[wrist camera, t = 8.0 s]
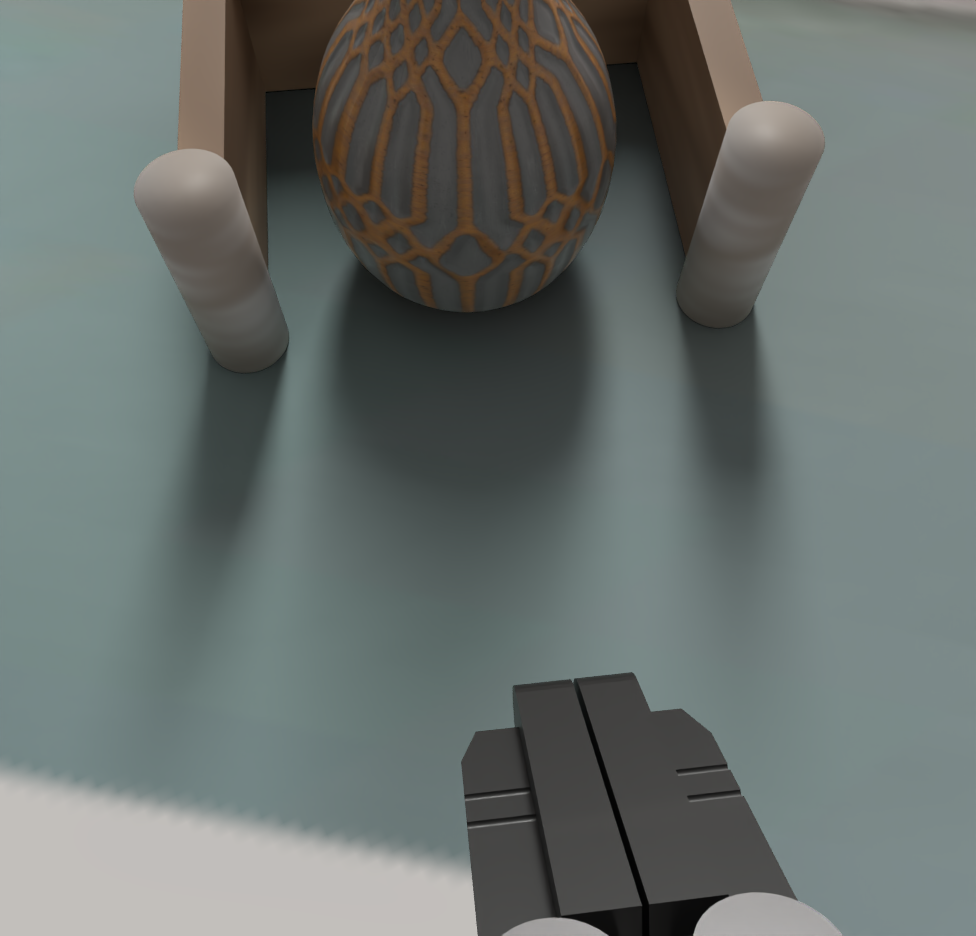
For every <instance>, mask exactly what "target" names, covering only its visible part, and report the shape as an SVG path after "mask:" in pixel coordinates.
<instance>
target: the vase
mask: <svg viewBox="0 0 976 936" xmlns="http://www.w3.org/2000/svg"><path fill="white" fill-rule="evenodd" d="M312 127H313V149H314V156H315V162H316V167H317V172H318V176H319V180H320V184H321V187H322V191H323V194H324V197H325V200H326V203H327V206H328V208H329V211H330V214H331V216H332V219H333V221H334V223H335V225H336V227H337V228H338V230H339V232H340V233H341V235H342V237H343V239H344V240H345V242H346V244H347V245H348V247H349V248H350V249H351V251H352V252H353V253H354V255H355V256H356V257H357V258H358V259H359V261H360V262H361V263H362V264H363V265H364V267H365V268H366V269H367V270H368V271H369V272H370V273H371V274H373V275H374V276H375V277H376V278H377V279H378V280H380V281H381V282H382V283H383V284H384V285H386V286H387V287H388V288H390V289H391V290H392V291H394V292H396V293H397V294H399V295H401V296H403V297H405V298H407V299H409V300H411V301H413V302H416V303H418V304H421V305H424V306H428V307H431V308H435V309H441V310H446V311H454V312H479V311H487V310H492V309H497V308H501V307H505V306H508V305H511V304H514V303H517V302H519V301H522V300H524V299H526V298H528V297H530V296H532V295H534V294H536V293H537V292H539V291H540V290H542V289H543V288H545V287H546V286H547V285H549V284H550V283H551V282H552V281H553V280H554V279H555V278H557V277H558V276H559V275H560V274H561V273H562V272H563V271H564V270H565V269H566V268H567V267H568V266H569V265H570V263H571V262H572V261H573V260H574V259H575V257H576V256H577V254H578V253H579V252H580V250H581V249H582V247H583V246H584V245H585V243H586V242H587V240H588V238H589V236H590V234H591V232H592V231H593V229H594V227H595V225H596V223H597V221H598V219H599V216H600V214H601V212H602V208H603V205H604V202H605V199H606V196H607V192H608V189H609V185H610V180H611V175H612V171H613V166H614V158H615V150H616V113H615V105H614V97H613V92H612V87H611V82H610V77H609V73H608V70H607V66H606V63H605V60H604V57H603V54H602V51H601V49H600V46H599V44H598V42H597V39H596V37H595V35H594V33H593V31H592V30H591V28H590V26H589V24H588V23H587V21H586V19H585V18H584V16H583V15H582V13H581V12H580V11H579V9H578V8H577V7H576V6H575V4H574V3H573V2H572V1H571V0H354V1H353V3H352V4H351V5H350V7H349V8H348V10H347V11H346V12H345V14H344V15H343V17H342V18H341V20H340V21H339V23H338V25H337V27H336V29H335V31H334V32H333V34H332V36H331V38H330V40H329V43H328V45H327V48H326V51H325V54H324V56H323V59H322V63H321V66H320V71H319V75H318V79H317V85H316V91H315V98H314V108H313V122H312Z"/></svg>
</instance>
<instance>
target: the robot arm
mask: <svg viewBox="0 0 976 936" xmlns="http://www.w3.org/2000/svg"><path fill="white" fill-rule="evenodd" d="M513 708H514V723H515V728H506V729H497V730H488V731H479V732H476V733H475V735H474V737H473V739H472V741H471V743H470V745H469V747H468V749H467V751H466V753H465V755H464V757H463V759H462V761H461V764H462V774H463V785H464V796H465V806H466V817H467V828H468V838H469V849H470V860H471V870H472V880H473V891H474V901H475V911H476V921H477V932H478V936H843V935H842V934H841V932H840V931H839V930H838V929H837V928H836V927H835V926H834V925H833V924H832V923H831V922H830V921H829V920H828V919H827V918H826V917H824V916H823V915H822V914H820V913H819V912H818V911H816V910H814V909H813V908H811V907H809V906H807V905H806V904H804V903H801V902H799V901H798V900H797V898H796V897H795V895H794V893H793V891H792V889H791V887H790V885H789V883H788V881H787V879H786V877H785V876H784V874H783V872H782V870H781V868H780V866H779V864H778V862H777V860H776V858H775V856H774V854H773V852H772V850H771V848H770V846H769V844H768V842H767V840H766V838H765V837H764V835H763V833H762V831H761V829H760V827H759V825H758V823H757V821H756V819H755V817H754V815H753V813H752V811H751V809H750V807H749V805H748V803H747V801H746V799H745V798H744V796H741V792H740V788H739V786H738V784H737V782H736V780H735V778H734V776H733V774H732V772H731V770H728V767H727V762H726V760H725V759H724V757H723V755H722V753H721V751H720V749H719V747H718V745H717V743H716V741H715V739H714V737H713V735H712V733H711V732H710V731H708V730H707V729H706V728H705V727H703V726H702V725H701V724H700V723H698V722H697V721H696V720H695V719H693V718H692V717H691V716H690V715H689V714H687V713H686V712H685V711H684V710H682V709H673V710H664V711H655V712H651V711H650V709H649V706H648V704H647V702H646V699H645V697H644V695H643V692H642V690H641V688H640V685H639V683H638V681H637V679H636V676H635V675H634V673H632V672H630V673H621V674H612V675H603V676H594V677H585V678H576V679H574V682H573V683H572V681H571V679H569V680H559V681H550V682H541V683H532V684H523V685H514V686H513Z"/></svg>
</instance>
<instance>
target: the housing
mask: <svg viewBox="0 0 976 936" xmlns="http://www.w3.org/2000/svg"><path fill="white" fill-rule="evenodd" d="M353 1H354V0H183V18H182V45H181V71H180V98H179V125H178V150H176V151H172V152H169V153H167V154H164V155H162V156H160V157H158V158H157V159H155V160H154V161H152V162H151V163H150V164H148V165H147V166H146V167H145V168H144V169H143V171H142V172H141V173H140V175H139V176H138V178H137V180H136V183H135V187H134V199H135V203H136V205H137V207H138V209H139V211H140V213H141V215H142V217H143V219H144V221H145V223H146V225H147V227H148V229H149V231H150V233H151V235H152V237H153V239H154V241H155V243H156V245H157V247H158V249H159V251H160V253H161V255H162V257H163V259H164V261H165V263H166V265H167V267H168V269H169V271H170V273H171V275H172V277H173V279H174V281H175V283H176V285H177V287H178V289H179V290H180V292H181V294H182V296H183V298H184V300H185V302H186V304H187V306H188V308H189V310H190V312H191V314H192V316H193V318H194V320H195V322H196V324H197V326H198V328H199V330H200V332H201V334H202V336H203V338H204V340H205V342H206V344H207V346H208V348H209V350H210V352H211V354H212V356H213V357H214V359H215V360H216V361H217V362H218V363H219V364H220V365H221V366H222V367H224V368H226V369H228V370H230V371H234V372H238V373H251V372H257V371H260V370H263V369H265V368H267V367H269V366H271V365H272V364H274V363H275V362H276V361H277V360H278V359H279V358H280V357H281V356H282V355H283V353H284V352H285V350H286V348H287V345H288V341H289V331H288V327H287V324H286V321H285V318H284V315H283V313H282V310H281V307H280V304H279V301H278V298H277V295H276V292H275V290H274V287H273V284H272V281H271V278H270V275H269V272H268V231H267V167H266V103H265V92H268V91H281V90H293V89H306V88H316V85H317V79H318V75H319V71H320V66H321V63H322V59H323V56H324V54H325V51H326V48H327V45H328V43H329V40H330V38H331V36H332V34H333V32H334V31H335V29H336V27H337V25H338V23H339V21H340V20H341V18H342V17H343V15H344V14H345V12H346V11H347V10H348V8H349V7H350V5H351V4H352V3H353ZM571 1H572V2H573V3H574V4H575V6H576V7H577V8H578V9H579V11H580V12H581V13H582V15H583V16H584V18H585V19H586V21H587V23H588V24H589V26H590V28H591V30H592V31H593V33H594V35H595V37H596V39H597V42H598V44H599V46H600V49H601V51H602V54H603V57H604V60H605V63H606V65H607V64H619V63H632V62H637V65H638V69H639V73H640V77H641V81H642V85H643V89H644V93H645V97H646V101H647V105H648V109H649V113H650V117H651V121H652V125H653V129H654V133H655V137H656V140H657V144H658V148H659V152H660V156H661V160H662V164H663V168H664V172H665V176H666V180H667V184H668V188H669V192H670V196H671V200H672V204H673V208H674V212H675V216H676V220H677V224H678V228H679V232H680V236H681V240H682V244H683V248H684V252H685V256H686V259H685V263H684V266H683V269H682V272H681V275H680V278H679V282H678V285H677V289H676V296H677V301H678V304H679V306H680V308H681V309H682V311H683V312H684V313H685V314H686V315H687V316H688V317H689V318H691V319H692V320H693V321H695V322H697V323H699V324H701V325H704V326H707V327H713V328H725V327H730V326H733V325H736V324H738V323H740V322H741V321H743V320H744V319H745V318H746V317H747V316H748V315H749V313H750V312H751V309H752V307H753V305H754V303H755V301H756V299H757V296H758V294H759V292H760V290H761V288H762V285H763V283H764V281H765V279H766V277H767V274H768V272H769V270H770V268H771V266H772V263H773V261H774V259H775V257H776V255H777V253H778V250H779V248H780V246H781V244H782V242H783V239H784V237H785V235H786V233H787V231H788V228H789V226H790V224H791V222H792V220H793V217H794V215H795V213H796V211H797V209H798V207H799V204H800V202H801V200H802V198H803V196H804V193H805V191H806V189H807V187H808V185H809V182H810V180H811V178H812V176H813V174H814V171H815V169H816V167H817V165H818V163H819V161H820V158H821V156H822V154H823V152H824V148H825V137H824V134H823V131H822V129H821V127H820V125H819V124H818V123H817V121H816V120H815V119H814V118H813V117H812V116H811V115H809V114H808V113H807V112H805V111H804V110H802V109H800V108H798V107H796V106H793V105H791V104H787V103H783V102H777V101H763V100H762V97H761V94H760V91H759V87H758V84H757V81H756V78H755V75H754V72H753V69H752V66H751V63H750V60H749V57H748V53H747V50H746V47H745V44H744V41H743V38H742V35H741V32H740V29H739V26H738V23H737V19H736V16H735V13H734V10H733V7H732V4H731V1H730V0H571Z"/></svg>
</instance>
